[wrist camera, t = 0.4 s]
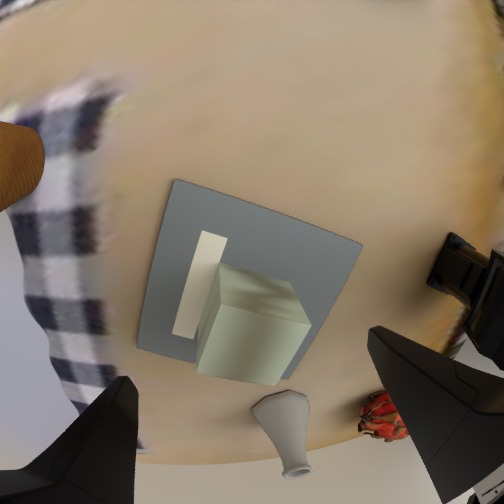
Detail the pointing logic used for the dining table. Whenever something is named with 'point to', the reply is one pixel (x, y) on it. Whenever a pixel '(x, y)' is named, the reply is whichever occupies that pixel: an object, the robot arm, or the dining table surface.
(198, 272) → the board
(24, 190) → the disposable coffee cup
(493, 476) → the robot arm
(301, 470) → the flask
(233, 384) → the dining table surface
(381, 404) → the dragon fruit
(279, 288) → the sage block
